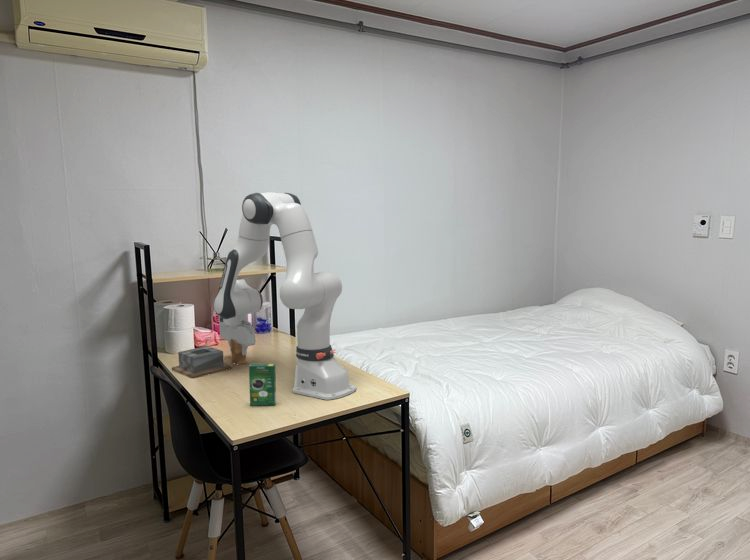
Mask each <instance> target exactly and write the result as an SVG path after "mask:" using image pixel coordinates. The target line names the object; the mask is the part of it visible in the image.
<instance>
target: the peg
mask: <svg viewBox="0 0 750 560" xmlns="http://www.w3.org/2000/svg"><path fill="white" fill-rule="evenodd" d="M241 350H242V344H238V343H237V340H233V339H231V351H230V353H231V364H232V363H235V364H240V365H242V364H241V363H244V364H246V363H247V357H246V356H247V354H246V355H241ZM245 362H246V363H245ZM235 364H234V365H235Z"/></svg>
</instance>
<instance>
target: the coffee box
mask: <svg viewBox="0 0 750 560" xmlns="http://www.w3.org/2000/svg"><path fill="white" fill-rule="evenodd" d="M248 368H249V369H248V370H249V371H248V373H249V374H248V375H249V376H248V377H249V378H248V381H249V405H250V406H251V407H252V406H254V407H259V406H276V403H277V389H276V388H277V386H276V385H277V384H276V383H277V382H276V381H277V380H276V379H277V378H276V374H277V373H276V363H250V364H249V367H248Z"/></svg>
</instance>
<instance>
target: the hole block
mask: <svg viewBox="0 0 750 560" xmlns="http://www.w3.org/2000/svg"><path fill="white" fill-rule="evenodd" d="M177 354H178V365H176V366H171V370H172V371H174V372H176V373H178V374H180V375H184V376H185V375H186V376H185V377H187V376H188V378H190V379H192V378H193V379H197V378H200V377H204V376H208V374H209V375H212V374H215V373H220V372H224V371H227V370H230V369H229V368H231V369H232V365H229V364H227V363H224V362H225V361H224V351H223V350H221V349H217V348H214V347H211V346H208V345H205V346H201V347H200V346H199V347H195V348H191V349H186V350H183V351H178V353H177ZM226 369H227V370H226ZM223 370H224V371H223Z"/></svg>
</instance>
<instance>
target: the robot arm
mask: <svg viewBox="0 0 750 560" xmlns="http://www.w3.org/2000/svg"><path fill="white" fill-rule="evenodd" d="M241 210H242V215H241V219H240V224H239V228H238V238H237V240H236V243H235V245H234V247H233V249H232V250H231V251H229V252H228V254H227V257H226V259H225V263H224V266H223V272H222V274H221V275H222V276H221V278H220V283H219V288H218V291H217V293H216V295H215V297H214V300H213V311H214V313H215V314H217V316H218V322H219V335H220V338H221V339H222V340H224V341H225V340H226V341H227V343H228V345H229V350H230V352H231V339H233V340H237V343H238V344H242V350H241V355H246V356H247V350H248V348H249V347H251V346H254V345H256V342H257V341H256V331H255V327H253V326H254V325H252V324H251V322H250V321H249V315H250V314H255V313H257V312H260V310H261V309H262V307H263V303H264V301H263V300H264V299H263V298H264V297H263V294H262V293H261V292H260V291H259V290H258V289H257V288H253V287H251V286H250V285H248V284H247V282H246V280H245V279H244V278H238V277H239V274H240V272H241V271H242V270H243V269H244V268H246V267H247V266H249V265H250V264H253V263H254V262H257V261H259V260H260V259H261V258H263V257H264V256H265V255H266V254H267V252H268V249H269V246H270V235H271V228H272V225H276V227H277V228H278V233H279V237H280V241H281V245H282V247H283V248H282V249H283V253H284V256H285V263H286V268H285V269H286V271H285V277H284V280H283V282H282V283H281V284H280V288H279V298H280V301H281V303H282V304H283V306H285V308H288V309H292V310H304V311H303V314H302V316H301V317H300V319H299V320H298V321H297V324H296V336H297V337H296V341H297V344H296V347H295V349H296V350H295V353H296V358H297V361H296V366H295V369H294V370H295V374H294V385H293V388H292V393H294V394H299V395H302V396H306V397H311V398H316V399H322V400H325V401H326V400H327V401H328V400H329V401H330V400H336V399H340V398H344V397H345V396H348V395H350V394H352V393H355V392H356V391H357V386H356V385H354V384H352V383H350V378H349V374H348V371H347V370H346V368H345V367H343V366H342V365H341V363H339V361H338V360H337V359H336V357H335V355H334V354H336V349H333V348H332V345H331V344H330V343H331V341H330V340H331V339H330V337H331V336H330V335H331V333H330V332H331V331H330V327H331V318H332V314H333V310H334V308H335V304H336V302H337V300H338V298H339V297H340V296H341V294H342V291H343V283H342V280H341V279H340V277H339V276H338V275H337V274H336V273H334V272H329V271H328V272H326V271H319V272H315V271H314V270H315V269H314V266H315V265H314V264H315V260H316V258H317V257H318V255H319V250H318V245H317V242H316V238H315V234H314V230H313V227H312V224H311V222H310V219H309V217H308V214H307V212H306V210H305V208H304V207H303V205H302V203H301V201H300V199H299V197H298V196H297V195H295V194H294V193H289V192H274V191H267V192H254V193H250V194H248V195H246V196H245V197H244V199H243V200H242V205H241Z"/></svg>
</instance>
